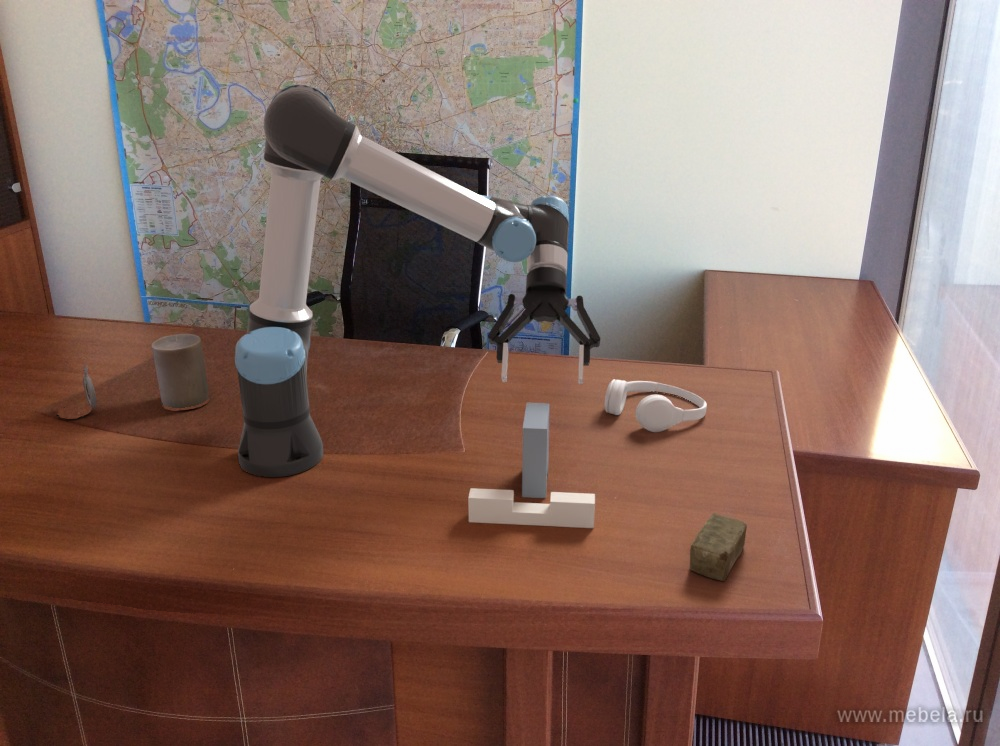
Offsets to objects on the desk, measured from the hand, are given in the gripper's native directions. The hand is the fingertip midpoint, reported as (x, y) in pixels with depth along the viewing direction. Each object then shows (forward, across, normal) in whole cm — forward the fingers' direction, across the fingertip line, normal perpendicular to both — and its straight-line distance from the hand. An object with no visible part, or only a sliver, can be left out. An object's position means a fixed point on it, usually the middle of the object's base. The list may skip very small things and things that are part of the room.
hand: (542, 380), depth 154 cm
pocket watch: (+3, +94, -18) cm, 96 cm away
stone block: (+32, -28, +10) cm, 44 cm away
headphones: (-4, -22, -26) cm, 35 cm away
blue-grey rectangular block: (+18, 0, -4) cm, 18 cm away
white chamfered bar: (+26, +1, +5) cm, 27 cm away
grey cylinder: (-2, +75, -23) cm, 79 cm away
